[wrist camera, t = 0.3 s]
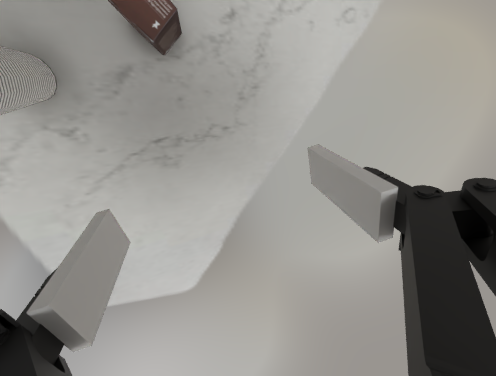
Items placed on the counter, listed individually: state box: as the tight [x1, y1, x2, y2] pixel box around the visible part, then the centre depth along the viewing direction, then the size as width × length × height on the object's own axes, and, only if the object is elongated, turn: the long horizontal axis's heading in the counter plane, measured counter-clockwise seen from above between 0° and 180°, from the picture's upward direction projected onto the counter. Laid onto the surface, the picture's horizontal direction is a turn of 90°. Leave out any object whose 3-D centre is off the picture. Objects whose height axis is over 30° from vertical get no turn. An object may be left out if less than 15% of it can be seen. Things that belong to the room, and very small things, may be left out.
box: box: [108, 0, 182, 55], centre depth 26 cm, size 6×4×12 cm
